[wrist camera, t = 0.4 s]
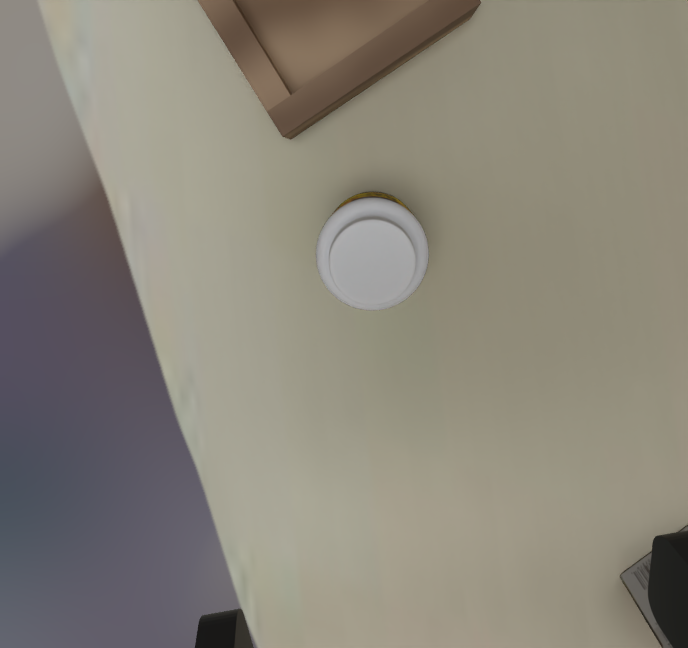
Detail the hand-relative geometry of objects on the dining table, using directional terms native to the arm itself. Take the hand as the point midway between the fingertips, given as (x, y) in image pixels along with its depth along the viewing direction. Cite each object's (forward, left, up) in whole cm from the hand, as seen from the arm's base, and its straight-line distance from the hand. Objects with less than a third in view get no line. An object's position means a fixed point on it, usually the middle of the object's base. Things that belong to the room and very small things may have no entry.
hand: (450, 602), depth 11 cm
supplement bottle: (-3, -2, -27) cm, 27 cm away
